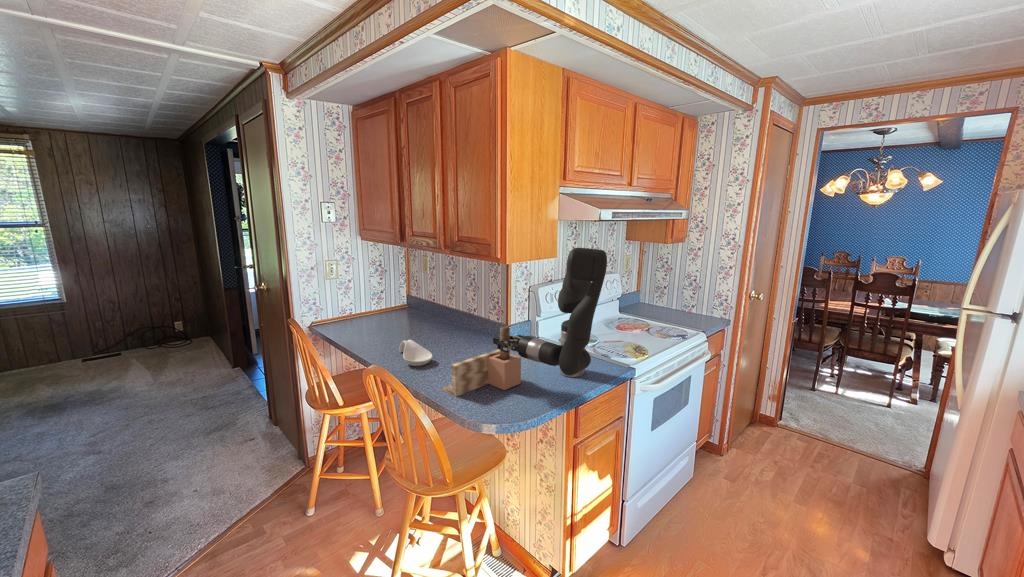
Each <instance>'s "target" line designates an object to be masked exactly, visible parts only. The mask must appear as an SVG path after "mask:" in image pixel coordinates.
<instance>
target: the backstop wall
mask: <svg viewBox="0 0 1024 577" xmlns="http://www.w3.org/2000/svg"><path fill="white" fill-rule="evenodd" d="M499 353H500V350H499V349H495V350H492V351H489V352H486V353H483V354H479V355H477V356H474V357H470V358H468V359H465V360H462V361H461V360H460V361H459V362H455V363H452V364H451V365H450V366H451V384H449V385H447V386H444V387H442V390H443V391H444V392H445V393H446V394H449V395H451V396H453V397H458V396H462V395H464V394H466V393H469V392H472V391H474V390H476V389H479V388H481V387H483V386H484V387H485V386H486V385H489V384H488V357H491V356H494V355H496V354H499Z"/></svg>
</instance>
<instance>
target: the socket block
mask: <svg viewBox="0 0 1024 577" xmlns="http://www.w3.org/2000/svg"><path fill="white" fill-rule="evenodd" d="M521 383H522V357H521V356H520V355H515V354H512V353H510V359H508V360H505V361H504V360H501V359H500V353H499V354H496V355H494V356H491V357H488V384H487V385H490V386H493V387H494V388H499V389H501V390H503V391H506V390H509V389H511V388H513V387H515V386H517V385H521Z"/></svg>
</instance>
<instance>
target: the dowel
mask: <svg viewBox="0 0 1024 577" xmlns="http://www.w3.org/2000/svg"><path fill="white" fill-rule="evenodd" d="M510 336H511V328H510V327H509V326H500V327H499V339H502V340H507V339H510ZM503 343H505V342H503ZM510 351H511V350H508V352H507V353H505V352H503V351H501V350H500V359H501V360H504V361H505V360H508V359H510V354H511V353H510Z"/></svg>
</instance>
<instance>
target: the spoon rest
mask: <svg viewBox="0 0 1024 577" xmlns="http://www.w3.org/2000/svg"><path fill="white" fill-rule="evenodd" d="M402 352H403V353H402ZM398 353H401V354H402V357H403V360H404V362H405V363H406V364H408V365H409V366H412V367H421V366H425V365H427V364H428V363H430V361H431V360H432V359H433V354H432V352H431V351H429V350H428V349H426V348H425V347H423V346H422V345H420V344H418V343H417V342H415V341H414V340H412V339H408V340H403V341H401V342H400V344H399V348H398Z"/></svg>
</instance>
